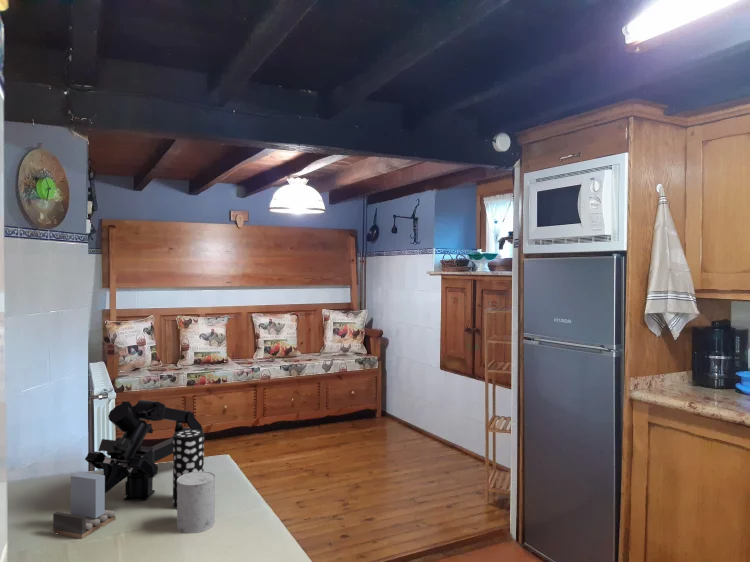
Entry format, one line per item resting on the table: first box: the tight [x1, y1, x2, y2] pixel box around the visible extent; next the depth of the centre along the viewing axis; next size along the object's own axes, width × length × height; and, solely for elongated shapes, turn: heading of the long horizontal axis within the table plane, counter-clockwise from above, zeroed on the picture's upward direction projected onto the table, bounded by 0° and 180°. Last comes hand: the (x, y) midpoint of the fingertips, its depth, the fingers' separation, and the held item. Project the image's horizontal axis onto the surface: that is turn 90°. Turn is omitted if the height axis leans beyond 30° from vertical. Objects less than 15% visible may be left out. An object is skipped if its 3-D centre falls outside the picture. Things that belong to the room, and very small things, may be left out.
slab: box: [70, 471, 106, 518], centre depth 141 cm, size 3×8×10 cm, turn 73°
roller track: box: [52, 509, 116, 540], centre depth 140 cm, size 11×9×5 cm
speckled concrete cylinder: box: [176, 470, 216, 534], centre depth 141 cm, size 10×10×12 cm
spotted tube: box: [172, 429, 205, 509], centre depth 154 cm, size 8×8×20 cm
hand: (102, 493), depth 145 cm, fingers closed
